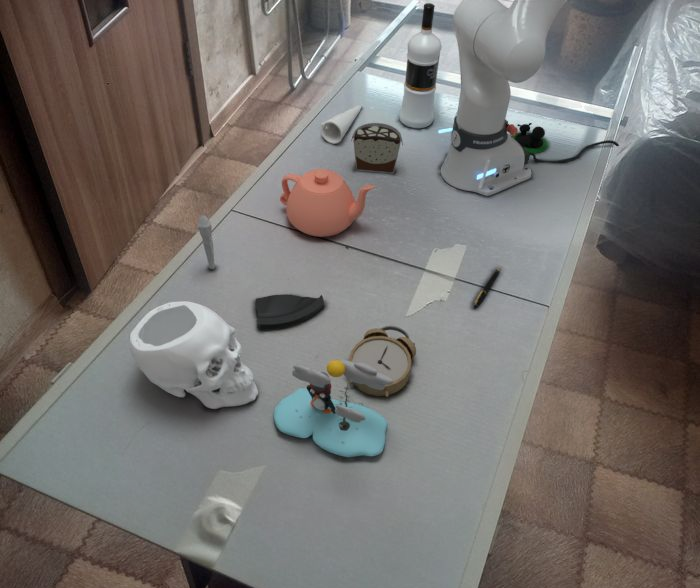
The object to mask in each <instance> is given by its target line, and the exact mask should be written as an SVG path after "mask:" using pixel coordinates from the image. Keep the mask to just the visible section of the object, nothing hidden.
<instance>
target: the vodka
mask: <svg viewBox="0 0 700 588" xmlns="http://www.w3.org/2000/svg"><path fill="white" fill-rule="evenodd" d="M435 7H436V6H435V4H434V3H431V2H427V3H424V4H423V9H422V10H423V11H422V19H421V28H420V31H419V32H418V33H416V34H414V35H412V36H411V37H410V38H409V40H408V43H407V52H406V59H407V60H406V70H405V81H404V83H403V96H402V102H401V106H400V109H399V115H398V117H399V120H400V122H401V123H402V124H403V125H404V126H406V127H408V128H412V129H424V128H428V126H431V124H432V123H433V122H434V119H435V118H434V117H435V111H434V110H435V109H434V105H435V95H436V90H437V79H438V70H439V63H440V57H441V51H442V47H443V45H442V41H441V39H440V38H439V37H438V36H437V35H436V34H434V33H433V23H434V14H435Z"/></svg>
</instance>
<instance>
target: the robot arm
mask: <svg viewBox="0 0 700 588" xmlns="http://www.w3.org/2000/svg"><path fill="white" fill-rule="evenodd" d="M567 1H568V0H513V2H512V3H511V5H510V6H509V7H508V6H506V5H505V4H503V2H500V1H499V0H461V1H460V2H459V4H458V5H457V6H456V8H455V10H454V12H453V16H452V19H451V20H452V21H451V22H452V23H451V25H452V31H453V32H454V36H455V39H456V44H457V49H458V58H459V73H460V90H459V98H458V105H457V112H456V115H455V117H454V119H453V124H452V127H449V128H444V129H438V134H442V133H448V132H449V133H450V132H451V136H450V137H451V139H450V140H451V141H450V142H451V143H450V145H449V148H448V151H447V154H446V156H445V158H444V162H443V164H442V165H441V168H440V176H441V178H442V179H443V180H444V181H445V182H446V183H447V184H449V185H450V186H452V187H453V188H456V189H459V190H462V191H466V192H474V193H477V194H479V195H482V196H486V197H489V196H493V195H495V194H497V193H499V192H502V191H504V190H506V189H509V188H511V187H514V186H515V185H518V184H520V183H522V182H525V181H527V180H529V179H531V178H532V169H531V167H530V165H529V162H530V157H532V159H533V161H534V162H536V163H545V164H561V163H567V162H570V161H574V160H577V159H578V158H580V156H582V154H583V153H584V152H585V151H586V150H588V149H590V148H593V147H596V146H600V145H605V144H612V145H614V146H616V147H620V145H619V143H618V142H617V141H616V140H611V139H609V140H601V141H598V142H597V141H596V142H594V143H591V144H587V145H586V146H584V147H583V148H582V149H581V150H580V151H579V152H578V153H577V154H575V156H572V157H567V158H564V159H558V160H543V159H539V158H537V155H536V153H530V152H527V151H526V150H525V149H524V148H523V147H522V145H521V144H519V143H518V142H517V141H516V140H515V139H513V138H512V137H511V136H514V135H515V134H516V133H518V132H519V128H518V126H515V125H514V124H513V123H511V124H510V123H509V121H508V120H507V119H506V118H507V113H508V109H509V105H510V101H511V96H512V95H511V94H512V93H511V86H510V83H509V82H511V83H513V84H520V83H523V82H526V81H528V80H529V79H531V78H532V77H534V76H535V75H536V74H537V72H539V70H540V69H541V67H542V66H543V64H544V61H545V57H546V52H547V51H546V49H547V48H546V47H547V46H546V44H547V37H548V34H549V32H550V29H551V26H552V24H553V22H554V20H555V19H556V17H557V15H558V13H560V10H562V7H563V6H564V5H565V4H566V3H567ZM358 7H359V8H360V9H361V10H362V11H368V10H370V9H372V0H358Z"/></svg>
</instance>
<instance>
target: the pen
mask: <svg viewBox="0 0 700 588" xmlns="http://www.w3.org/2000/svg"><path fill="white" fill-rule="evenodd" d="M197 227H198V228H197V229H198V231H199V235H200V237H201V239H202V244H203V248H204V251H205V256H206V259H207V260H206V261H207V264H208V267H209V269H210V270H214V269H215V268H216V264H215V253H214V252H215V251H214V240H213V235H212V231H213V230H212V222H211V220H210V219H209V218H208V217H207V216H206V215H205V214H202V215H201V216H200V217H199V219H198V221H197Z"/></svg>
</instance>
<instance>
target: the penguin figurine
mask: <svg viewBox="0 0 700 588" xmlns="http://www.w3.org/2000/svg"><path fill="white" fill-rule="evenodd" d="M292 368H293V371H292V376H293V377H294V378H295V379H297V380H299V381H302V382H306V383H309V384H308V385H306V387H298V388H297V389H296V390H295V391H294V392H292V393H291V394H289V395H287V396H285V397H284V398H282V399H281V400H280V401H279V402H278V404H277V405H276V406H275V408H274V410H273V422H274V424H275V426H276V428H277V429H278V430H279V432H281V433H283V434H285V435H288V436H291V437H295V438H301V439H307V438H309V437H310V436H312V440H313V443H314V444H316V445H317V446H318V447H319V448H321V449H323V450H325V451H327V452H328V453H330V454H332V455H336V456H340V457H344V458H352V457H359V456H365V457H375V456H377V455H380V454H381V453H382V452H383V450H384V448H385V444H386V431H387V428H388V424H389V423H388V421H387V419H386V418H385V417H383V415H381V414H380V413H379V412H377V411H375V410H373V409H371V408H369V407H367V406H365V405H364V404H365V403H363V402H359V403H358V404H357V403H352V402H351V400H353V398H352V396H350V395H351V394H347V393H348V391H349V382H346V383H347V384H346V385H347V386H344V385H343V386H342V387H343V388H344V389H345V391H343V390H341V389H339V392H341V394H343V395H344V397H345V401H342V400H344V397H343V396H342V395H339V396H338V398H339V399H341V400H338V399H333V398H332V396H331V393H332V383H331V378H330V376H331V377H333V378H340V377H342V376H343V375H344V376H345V378H346V380H348V381H352V382H355V383H360V384H365V385H367V386H368V387H371V388H374V389H378V390H383V389H384V387H385V384H386V385H390V384H392V382H393V380H392V379H391V378H389V377H388V376H386V375H383V374H381V373H378V372H377V370H376V369H374V368H373V367H371V366H369V365H367V364H364V363H354V362H351V361H349V360H346V359H340V358H338V359H332V360H330V361H329V362H328V363H327V365H326V372H327V373H328V374H327V373H326V372H324V371H319V370H317V369H313V368H311V367H307V366H305V365H301V364H298V363H297V364H296V363H295V364H294V365H293V366H292Z"/></svg>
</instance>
